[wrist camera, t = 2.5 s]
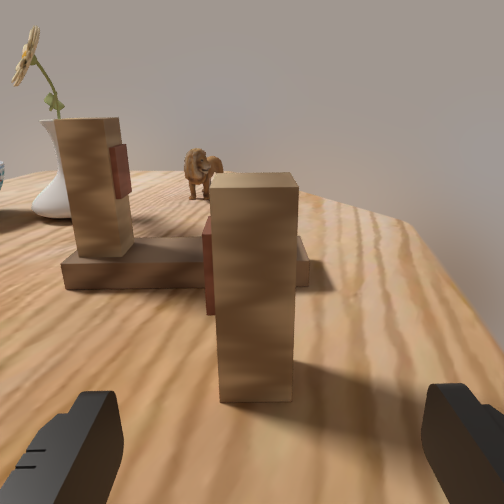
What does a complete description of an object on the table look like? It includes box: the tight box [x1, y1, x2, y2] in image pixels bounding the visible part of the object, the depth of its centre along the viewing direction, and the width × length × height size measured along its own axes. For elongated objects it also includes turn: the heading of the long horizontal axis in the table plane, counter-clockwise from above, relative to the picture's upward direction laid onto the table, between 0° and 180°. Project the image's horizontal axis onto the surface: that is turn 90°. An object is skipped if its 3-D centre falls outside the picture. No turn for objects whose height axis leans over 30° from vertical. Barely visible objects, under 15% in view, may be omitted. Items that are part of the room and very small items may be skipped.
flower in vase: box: [12, 26, 71, 218], centre depth 54 cm, size 13×11×25 cm
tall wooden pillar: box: [202, 172, 299, 402], centre depth 21 cm, size 4×4×12 cm
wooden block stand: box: [54, 117, 310, 289], centre depth 36 cm, size 22×7×14 cm, turn 90°
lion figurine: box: [184, 148, 223, 200], centre depth 70 cm, size 15×5×9 cm, turn 170°
